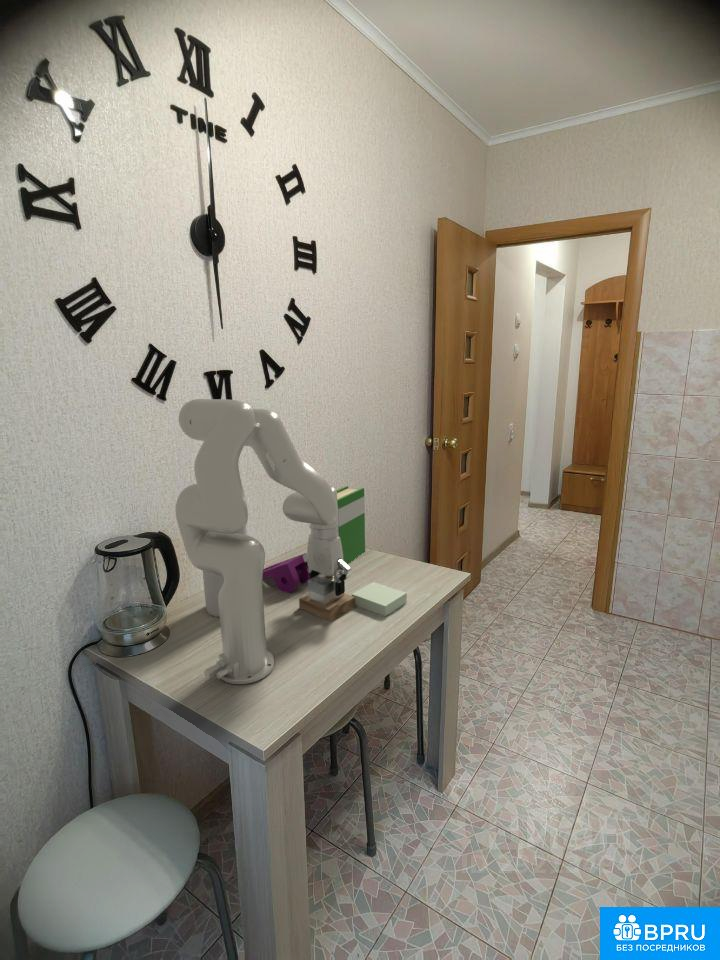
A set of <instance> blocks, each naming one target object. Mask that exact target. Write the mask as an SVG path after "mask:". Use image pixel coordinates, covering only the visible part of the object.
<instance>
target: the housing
mask: <svg viewBox="0 0 720 960" xmlns="http://www.w3.org/2000/svg"><path fill="white" fill-rule="evenodd" d="M337 574H338V576H339V577H340V574H339V573H337ZM335 582H337V581H336V579H335V578H334V576H329V575H325V574H322V573H319V575H318V576H315V577H313V578H311V579H309V580H308V581H307V583H308V585H307V586H308V593H309V600H311V601H313V602H316V603H318V604H321V605H323V606H326V605H328V604H330V603H332V602H333V601H335V600H337V599H339V598H341V597H342V596H344V593H345V592H344V593H343V594H341V595H339V596H336V595H335Z"/></svg>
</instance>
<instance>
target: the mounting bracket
mask: <svg viewBox="0 0 720 960" xmlns="http://www.w3.org/2000/svg"><path fill="white" fill-rule="evenodd" d="M306 553H307V552H305V553H302V554H299V555H297V556H294V557H291V558H288V559H286V560H283V561H280V562H277V563H274V564H272V565H270V566H269V565H268V566H267V567H264V569H263V579H262V580H264V579H267V578H270V577H272V579H273V581H274V583H275V586H276V587H277V589H279V590H280V592H284V593H291V592H293V591H295V590H296V589H298V586H299V585H301V584H302V585H304V584H306V583H308V580H309V579H310V574H309V572H308V568H307V567H306V565H305V561H304V559H303V555H304V554H306Z"/></svg>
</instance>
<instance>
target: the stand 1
mask: <svg viewBox="0 0 720 960" xmlns="http://www.w3.org/2000/svg"><path fill="white" fill-rule="evenodd" d="M298 603H299V604H298V605H299V609H301V610H304V611H306V612H308V613H310V614H313V615H315V616H317V617H320V618H322V619H324V620H327V621H330V622H332V621H334V620H335V619H337V618H339V617H340V616H342V615H344V614H345V613H347V612H349V611H350V610H352V609H354V608H356V605H355V597H353V596H352V595H350V594H347V593H345V592H344V596H342V597H341V598H339V599H337V600H335V601H333V602H332V603H330V604H328V605H326V606H323V605H321V604H318V603H316V602H313V601H311V600H309V592H308V593H307V594H304V595H303V596H300V597H298Z"/></svg>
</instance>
